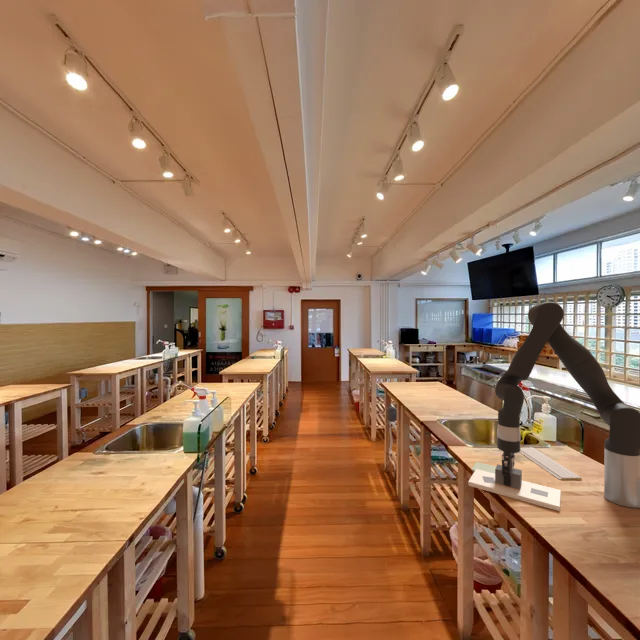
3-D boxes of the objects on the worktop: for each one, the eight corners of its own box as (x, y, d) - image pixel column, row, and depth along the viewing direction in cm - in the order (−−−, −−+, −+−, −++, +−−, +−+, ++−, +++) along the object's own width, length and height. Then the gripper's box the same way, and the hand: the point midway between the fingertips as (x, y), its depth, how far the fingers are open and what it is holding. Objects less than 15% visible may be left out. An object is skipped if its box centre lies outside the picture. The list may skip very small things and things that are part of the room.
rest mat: (507, 470, 138) (507, 469, 138) (504, 478, 131) (504, 477, 131) (476, 462, 145) (476, 461, 145) (471, 470, 138) (471, 469, 138)
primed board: (560, 494, 119) (560, 490, 119) (559, 511, 109) (559, 506, 109) (476, 472, 136) (476, 468, 136) (468, 485, 126) (468, 481, 126)
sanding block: (521, 484, 123) (521, 470, 123) (520, 490, 119) (520, 475, 119) (497, 478, 128) (497, 464, 128) (495, 483, 124) (495, 469, 124)
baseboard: (555, 481, 130) (581, 481, 130) (555, 474, 130) (581, 474, 130) (511, 450, 160) (532, 450, 160) (511, 444, 160) (532, 444, 160)
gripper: (518, 445, 115) (517, 494, 115) (522, 433, 127) (522, 478, 127) (493, 440, 120) (493, 487, 120) (500, 429, 131) (499, 472, 131)
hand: (508, 482), depth 123 cm, fingers closed on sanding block, 5 cm apart
